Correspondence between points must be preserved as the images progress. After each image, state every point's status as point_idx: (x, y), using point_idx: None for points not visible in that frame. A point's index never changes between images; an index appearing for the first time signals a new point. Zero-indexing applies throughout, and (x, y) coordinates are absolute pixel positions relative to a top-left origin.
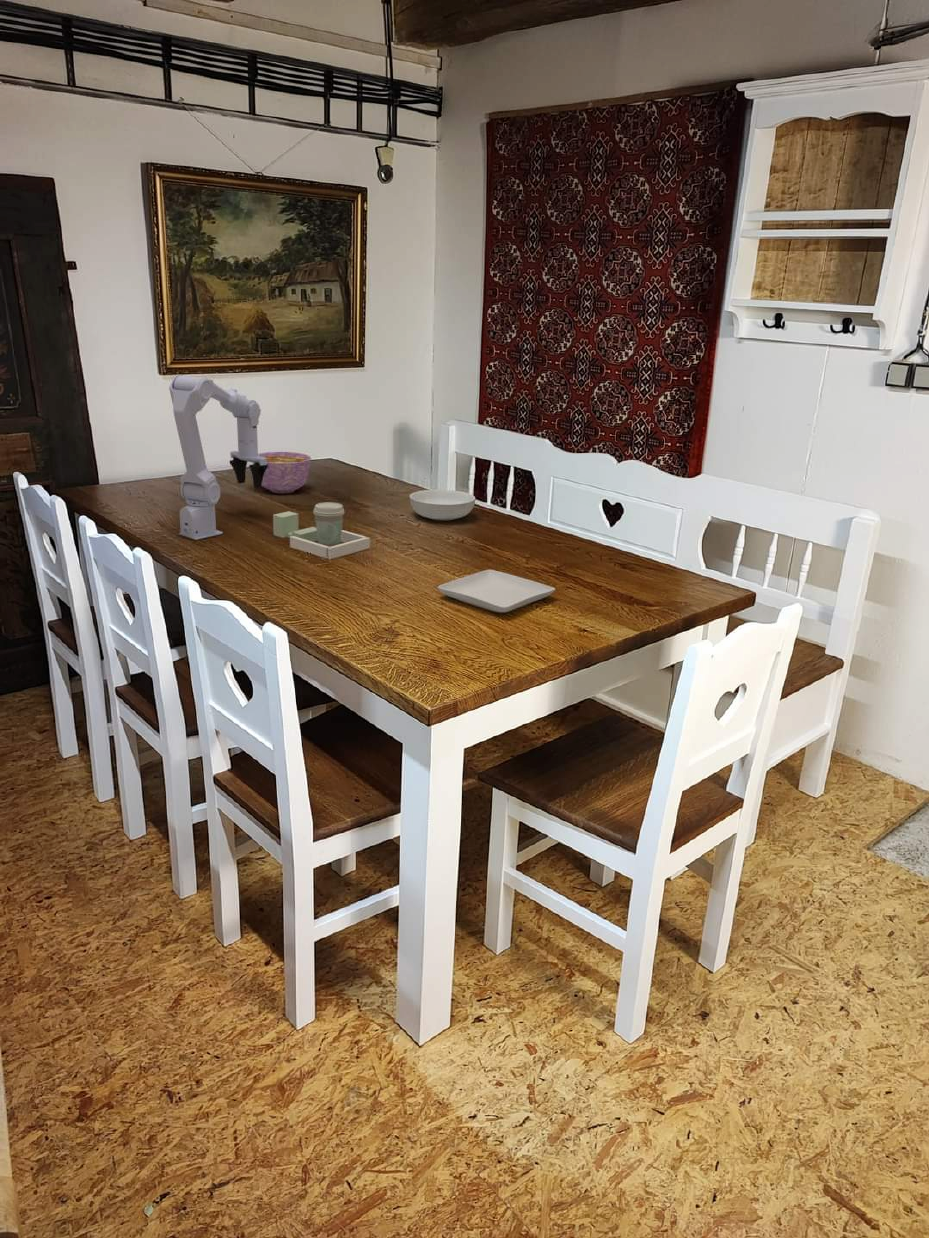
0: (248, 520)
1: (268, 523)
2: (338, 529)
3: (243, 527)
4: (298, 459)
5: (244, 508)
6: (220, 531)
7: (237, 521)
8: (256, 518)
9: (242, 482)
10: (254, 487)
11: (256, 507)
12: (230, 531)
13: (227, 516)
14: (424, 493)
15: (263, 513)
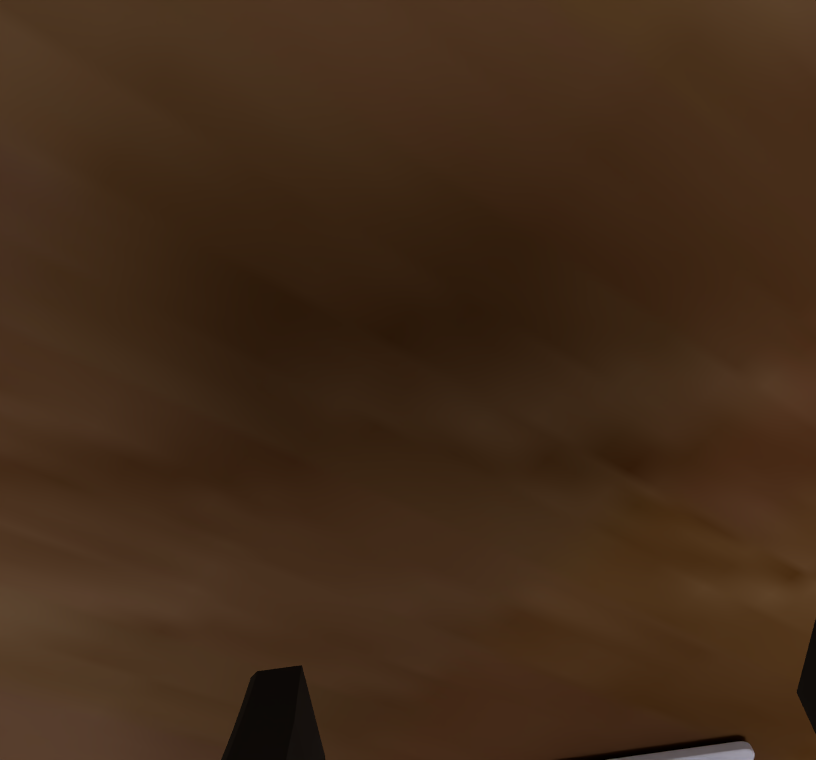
0: (564, 437)
1: (811, 338)
2: None
3: (721, 571)
4: None
5: (18, 197)
6: (725, 755)
7: (521, 528)
8: (557, 334)
9: (310, 719)
10: (800, 694)
11: (28, 6)
12: (728, 678)
13: (293, 520)
14: None
15: (413, 132)
